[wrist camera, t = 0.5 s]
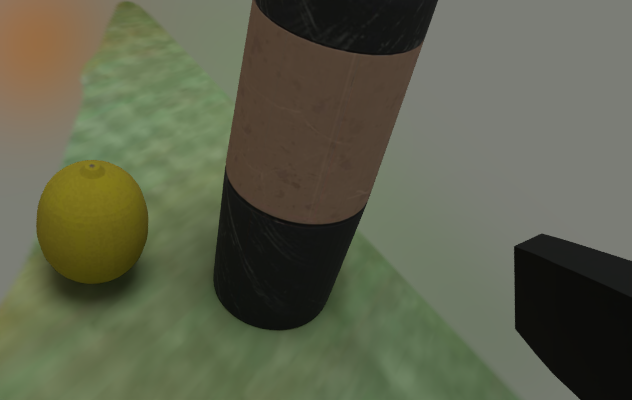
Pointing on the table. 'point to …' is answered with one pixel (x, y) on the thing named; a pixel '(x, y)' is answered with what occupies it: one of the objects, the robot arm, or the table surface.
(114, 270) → the lemon
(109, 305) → the table surface
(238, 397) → the table surface
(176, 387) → the table surface
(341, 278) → the table surface
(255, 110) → the travel mug
